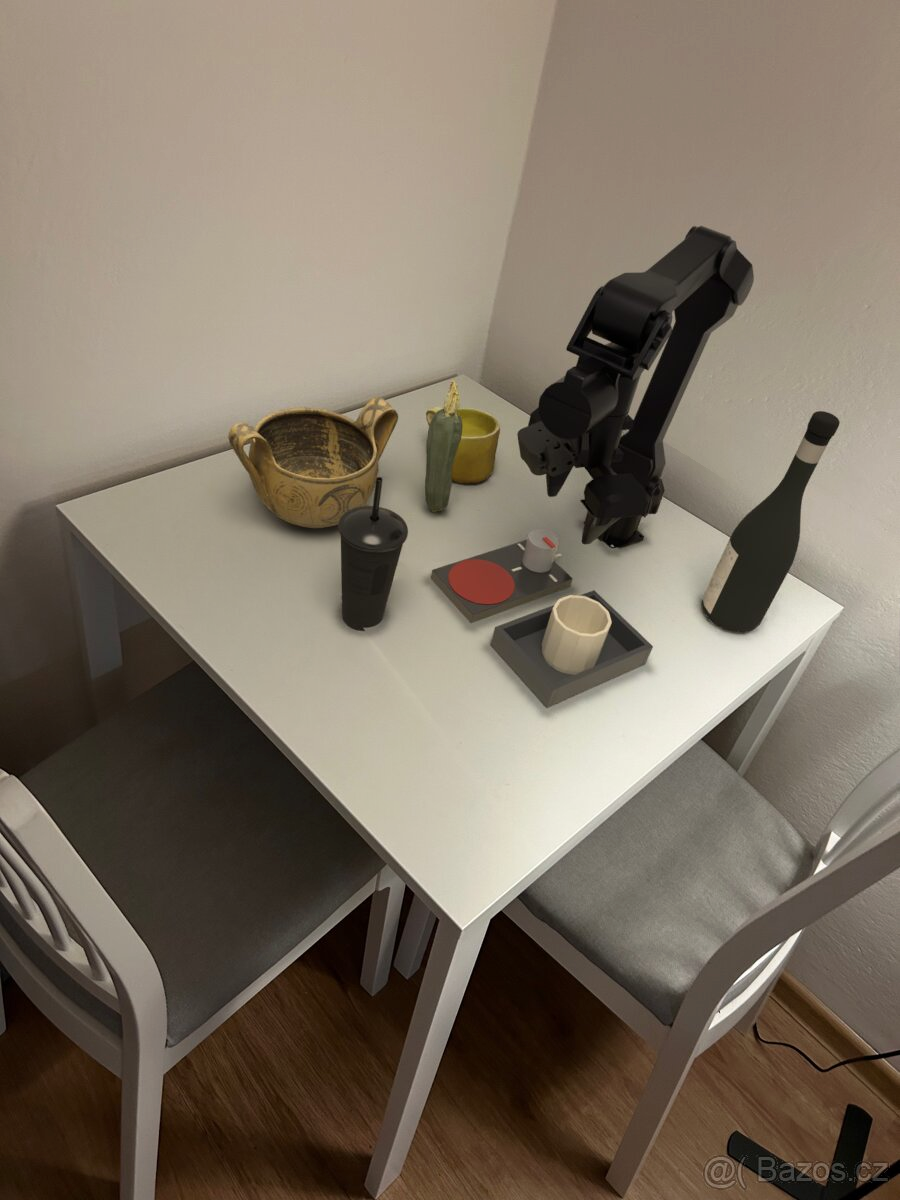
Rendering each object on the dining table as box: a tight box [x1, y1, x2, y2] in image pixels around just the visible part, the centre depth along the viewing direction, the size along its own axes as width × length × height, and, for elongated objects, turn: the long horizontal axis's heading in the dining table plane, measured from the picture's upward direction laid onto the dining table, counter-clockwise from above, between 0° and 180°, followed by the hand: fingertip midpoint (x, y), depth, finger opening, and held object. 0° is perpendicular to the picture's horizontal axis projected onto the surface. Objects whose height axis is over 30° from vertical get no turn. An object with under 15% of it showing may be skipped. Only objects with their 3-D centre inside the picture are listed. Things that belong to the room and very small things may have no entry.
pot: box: [541, 594, 612, 675], centre depth 105 cm, size 7×7×6 cm
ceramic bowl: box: [227, 396, 399, 529], centre depth 116 cm, size 22×17×15 cm
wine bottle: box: [701, 410, 841, 634], centre depth 108 cm, size 8×8×30 cm
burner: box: [448, 559, 515, 605], centre depth 112 cm, size 8×8×1 cm
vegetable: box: [424, 379, 463, 513], centre depth 118 cm, size 4×4×20 cm
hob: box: [430, 539, 574, 624], centre depth 115 cm, size 18×9×2 cm, turn 124°
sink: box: [489, 589, 654, 709], centre depth 106 cm, size 16×11×4 cm
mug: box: [425, 405, 501, 485], centre depth 132 cm, size 12×10×10 cm
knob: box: [522, 528, 560, 573], centre depth 115 cm, size 4×4×4 cm
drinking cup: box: [337, 476, 409, 632], centre depth 100 cm, size 8×8×20 cm
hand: (568, 519), depth 106 cm, fingers open, 9 cm apart
